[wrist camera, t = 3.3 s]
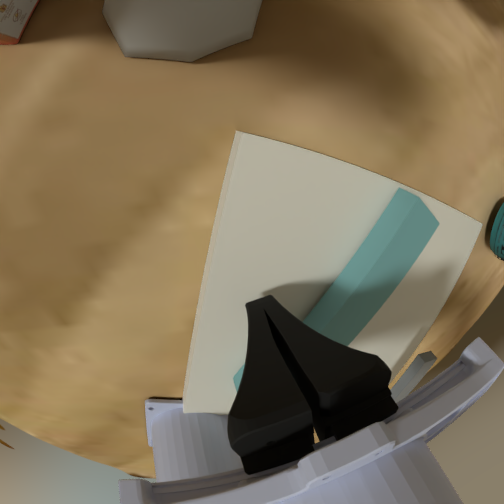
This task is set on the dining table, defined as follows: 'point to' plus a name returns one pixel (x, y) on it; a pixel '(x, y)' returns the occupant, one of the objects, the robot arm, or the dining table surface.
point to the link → (372, 270)
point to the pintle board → (309, 261)
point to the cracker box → (14, 19)
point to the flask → (179, 26)
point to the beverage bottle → (498, 234)
